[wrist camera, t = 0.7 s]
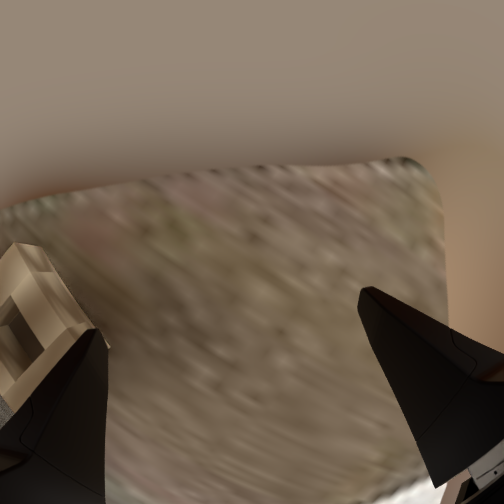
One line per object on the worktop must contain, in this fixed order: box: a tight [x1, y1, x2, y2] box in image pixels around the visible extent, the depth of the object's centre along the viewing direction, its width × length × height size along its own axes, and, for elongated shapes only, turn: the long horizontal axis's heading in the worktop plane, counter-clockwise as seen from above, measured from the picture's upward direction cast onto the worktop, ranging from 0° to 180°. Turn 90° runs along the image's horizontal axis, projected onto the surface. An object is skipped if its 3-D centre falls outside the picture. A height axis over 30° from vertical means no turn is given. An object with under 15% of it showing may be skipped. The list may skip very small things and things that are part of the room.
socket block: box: [0, 242, 110, 413], centre depth 20 cm, size 11×11×4 cm
